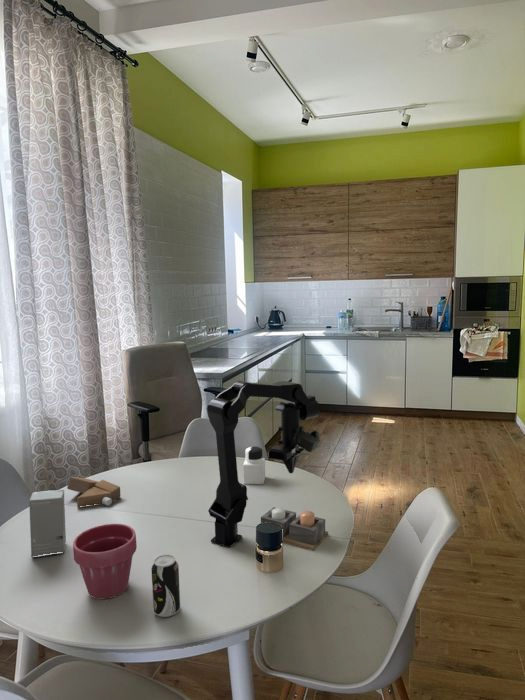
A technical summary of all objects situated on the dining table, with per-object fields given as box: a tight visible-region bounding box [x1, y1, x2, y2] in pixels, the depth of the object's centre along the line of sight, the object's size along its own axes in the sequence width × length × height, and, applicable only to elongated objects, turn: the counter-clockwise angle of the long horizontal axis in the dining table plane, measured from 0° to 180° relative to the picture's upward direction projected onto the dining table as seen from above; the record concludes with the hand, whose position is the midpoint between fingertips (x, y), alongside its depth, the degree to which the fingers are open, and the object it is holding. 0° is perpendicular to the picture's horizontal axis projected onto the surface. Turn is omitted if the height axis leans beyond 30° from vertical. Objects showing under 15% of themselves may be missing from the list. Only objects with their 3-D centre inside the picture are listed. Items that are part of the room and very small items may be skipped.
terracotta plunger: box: [299, 510, 315, 528], centre depth 143 cm, size 4×4×5 cm
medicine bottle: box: [242, 446, 266, 485], centre depth 185 cm, size 7×7×12 cm
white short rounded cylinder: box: [272, 507, 286, 520], centre depth 148 cm, size 4×4×5 cm
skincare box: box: [28, 489, 67, 557], centre depth 139 cm, size 8×7×16 cm
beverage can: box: [151, 554, 181, 618], centre depth 113 cm, size 6×6×12 cm
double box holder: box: [260, 506, 329, 552], centre depth 146 cm, size 10×17×5 cm, turn 60°
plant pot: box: [72, 523, 137, 600], centre depth 122 cm, size 14×14×13 cm
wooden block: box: [66, 476, 121, 507], centre depth 172 cm, size 8×13×18 cm
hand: (291, 472), depth 159 cm, fingers closed
